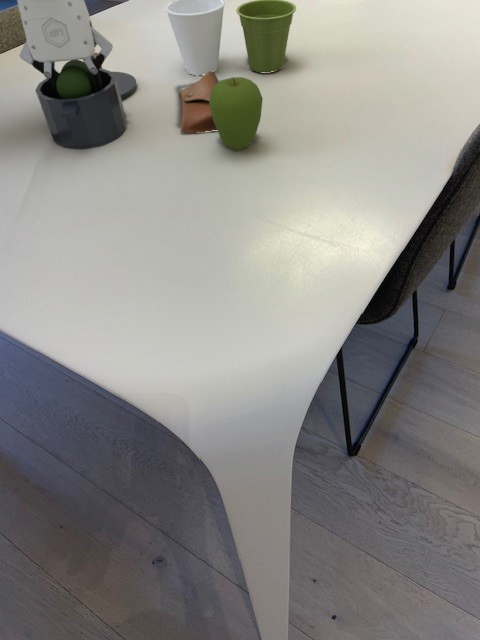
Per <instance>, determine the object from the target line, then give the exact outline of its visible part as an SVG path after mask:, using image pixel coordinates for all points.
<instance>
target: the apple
mask: <svg viewBox="0 0 480 640" xmlns="http://www.w3.org/2000/svg"><path fill="white" fill-rule="evenodd" d="M263 99H264V98H263V96H262V93H261V91H260V89H259V86H258V85H257V84H256V83H255V82H254V81H252V80H251V79H249V78H247V77H243V76H233V77H229V78H225V79H222V80H219V81H218V83H217V84H216V85H215V86H214V87H213V89H212V91H211V95H210V101H209V105H210V109H211V113H212V117H213V121H214V123H215V126H216V128H217V130H218V132H217V134H218V135H219V137H220V140H221V141H222V142H223V144H224V145H226V147H227V148H228V149H229V150H231V151H232V150H233V151H232V152H239V151H243V150H244V149H246V148H247V147H248V146H249V145H250V144H251V142H252V141H254V139H255V137H256V134H257V131H258V128H259V125H260V122H261V118H262V109H263V101H264V100H263Z"/></svg>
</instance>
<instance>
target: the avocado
mask: <svg viewBox="0 0 480 640" xmlns="http://www.w3.org/2000/svg"><path fill="white" fill-rule="evenodd" d="M59 73H60V74H59V76H58V78H57V83H56V86H57V91H58V93H59V95H60V97H61V98H62V99H72V98H79V97H83V96H87V95H91V92H92V87H91V84H90V80H89V73H90V72H89V69H88V67H87V66H86V64H85V63H84V61H83V60H81V59H79V60H69V61H66V63H65V64H64V65H63V66H62V68H61V70H60V72H59Z"/></svg>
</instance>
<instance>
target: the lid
mask: <svg viewBox="0 0 480 640" xmlns="http://www.w3.org/2000/svg"><path fill="white" fill-rule="evenodd" d="M98 53H99V52H94V56H95V57H97V55H98ZM100 68H102V69H103V64H102V65H101V67H100ZM111 72H112V73H113V74H114V75H115V76H116V79H117V83H118V87H119V91H120V95H121V99H123V98H125V97H127V96H128V95H130V94H132V93H133V92H134V91H135V90H136V87H137V80H136V78H135V77H134V75H132V74H130V73H127V72H122V71H111Z"/></svg>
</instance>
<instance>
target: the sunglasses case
mask: <svg viewBox="0 0 480 640" xmlns="http://www.w3.org/2000/svg"><path fill="white" fill-rule="evenodd" d="M218 82H219V79H218V77H217V75H216V74H215V72H214V73H213V72H211V71H209V72H208V73H207V74H205V75H204V76H201V78H200V79H198V80H197V81H195V82H194V83H192V84H190V85H188V86H186V87H185V88H183V89H182V90H180V91H179V92H178V95H179V98H180V109H181V110H180V112H181V115H180V116H181V117H180V132H181V133H184V134H198V133H197V132H205V131H212V130H217V128H216V126H215V123H214V121H213V117H212V113H211V109H210V105H209V101H210V95H211V91H212V89H213V87H214V86H215V85H216V84H217V83H218Z"/></svg>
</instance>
